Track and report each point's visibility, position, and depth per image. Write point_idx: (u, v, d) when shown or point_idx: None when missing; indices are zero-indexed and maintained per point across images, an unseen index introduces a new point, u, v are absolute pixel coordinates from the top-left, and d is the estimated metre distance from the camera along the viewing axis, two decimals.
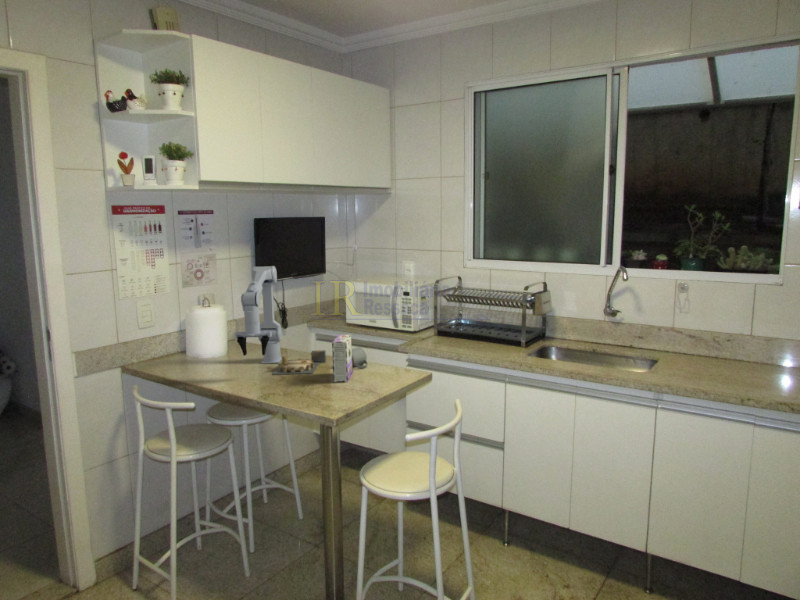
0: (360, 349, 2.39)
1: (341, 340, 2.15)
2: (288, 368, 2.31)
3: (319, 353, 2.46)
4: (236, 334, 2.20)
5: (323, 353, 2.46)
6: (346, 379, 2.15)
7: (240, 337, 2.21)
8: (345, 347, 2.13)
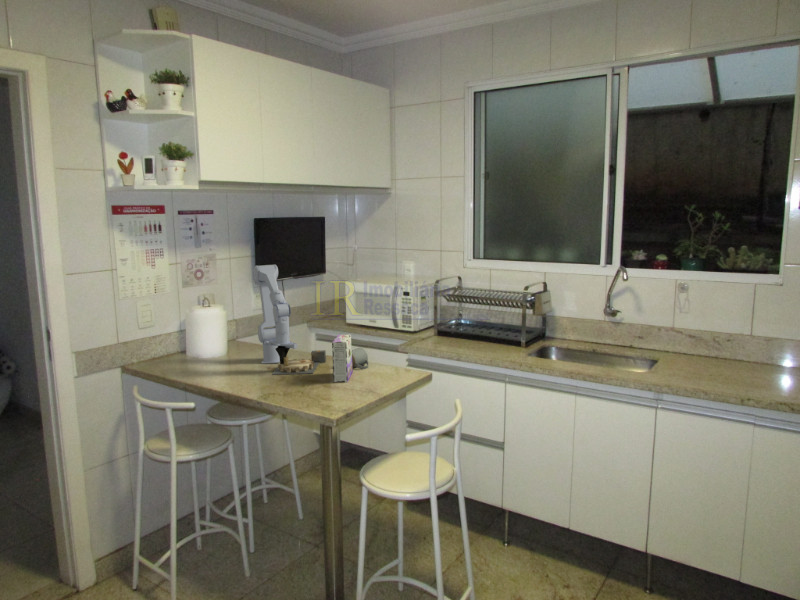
0: (361, 349, 2.38)
1: (341, 340, 2.15)
2: (292, 368, 2.30)
3: (319, 353, 2.46)
4: (270, 342, 2.35)
5: (323, 353, 2.46)
6: (346, 379, 2.15)
7: (280, 346, 2.32)
8: (345, 347, 2.13)
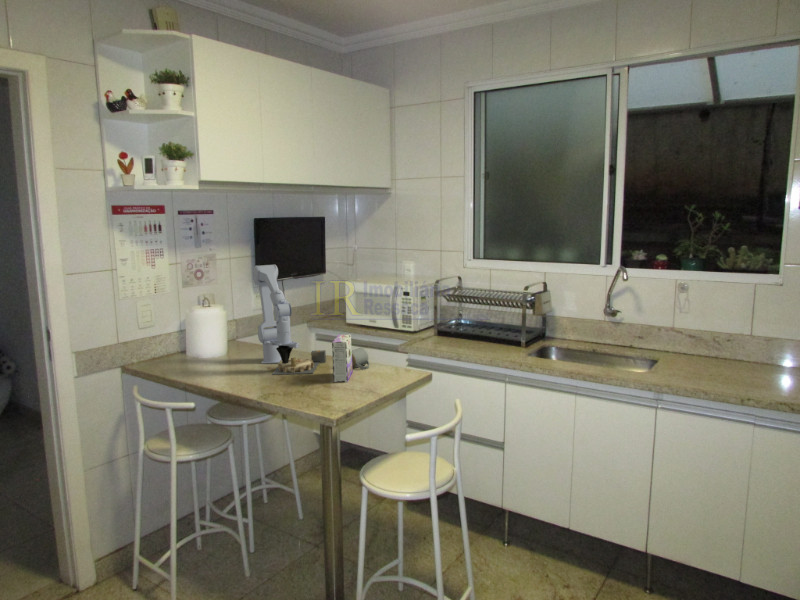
0: (362, 349, 2.38)
1: (341, 340, 2.15)
2: (304, 367, 2.32)
3: (319, 353, 2.46)
4: (271, 342, 2.35)
5: (323, 353, 2.46)
6: (346, 379, 2.15)
7: (280, 346, 2.33)
8: (345, 347, 2.13)
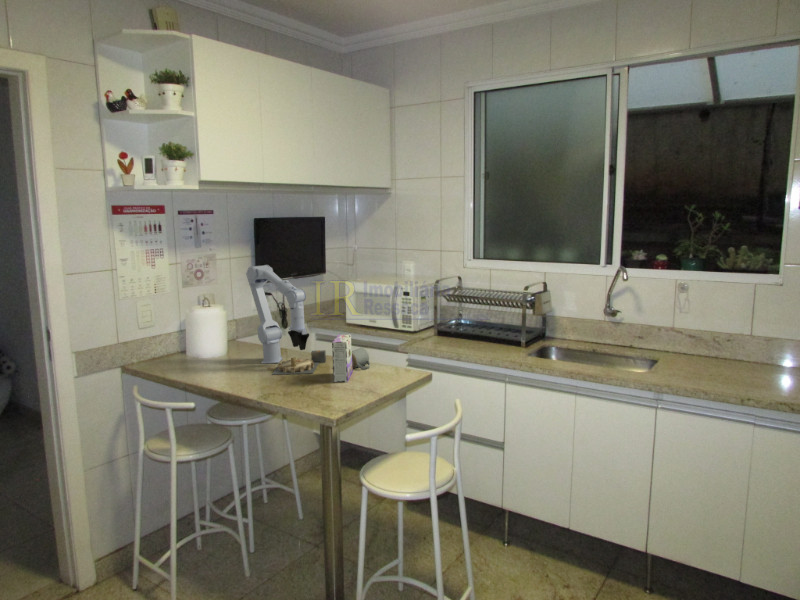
0: (362, 350, 2.37)
1: (341, 340, 2.15)
2: (304, 367, 2.32)
3: (319, 353, 2.46)
4: (290, 326, 2.42)
5: (323, 353, 2.46)
6: (346, 379, 2.15)
7: (292, 329, 2.41)
8: (345, 347, 2.13)
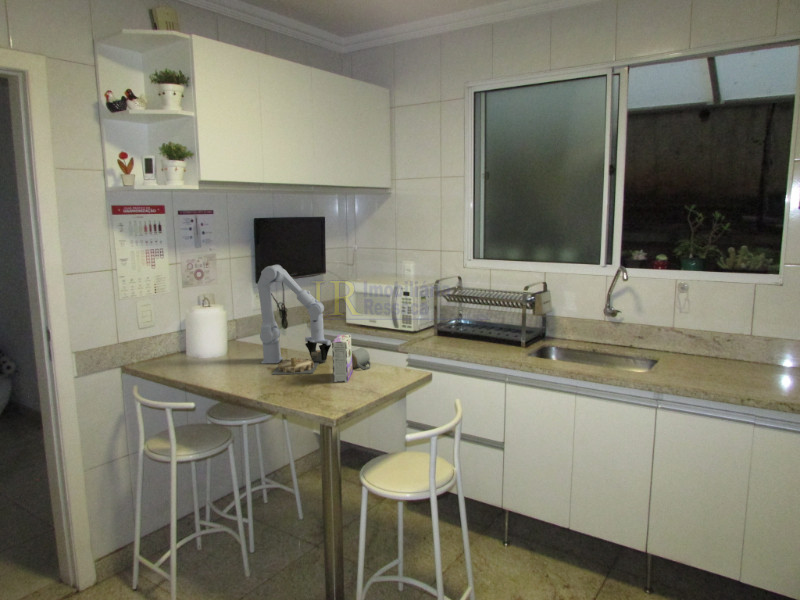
0: (363, 350, 2.37)
1: (341, 340, 2.15)
2: (304, 367, 2.32)
3: (319, 352, 2.46)
4: (306, 338, 2.49)
5: None
6: (346, 379, 2.15)
7: (309, 341, 2.49)
8: (345, 347, 2.13)
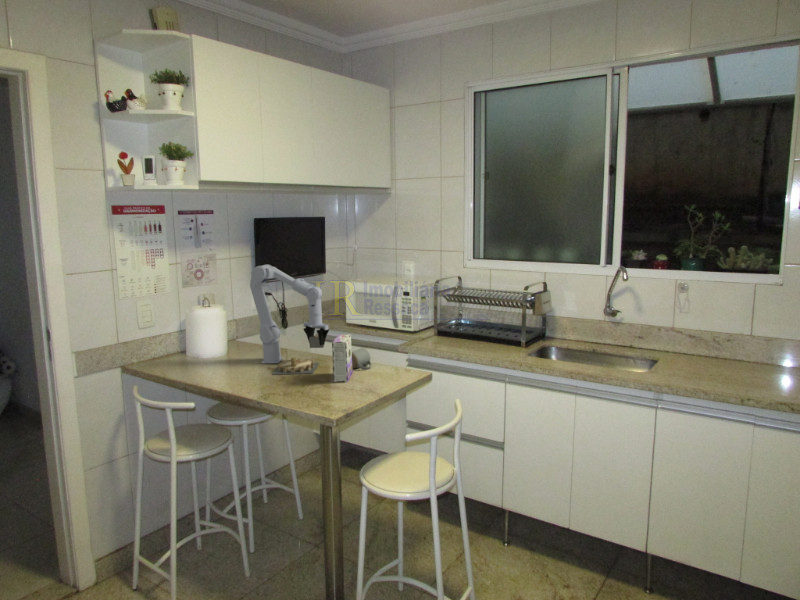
0: (364, 350, 2.37)
1: (341, 340, 2.15)
2: (304, 367, 2.32)
3: (317, 337, 2.44)
4: (304, 323, 2.48)
5: None
6: (346, 379, 2.15)
7: (307, 327, 2.47)
8: (345, 347, 2.13)
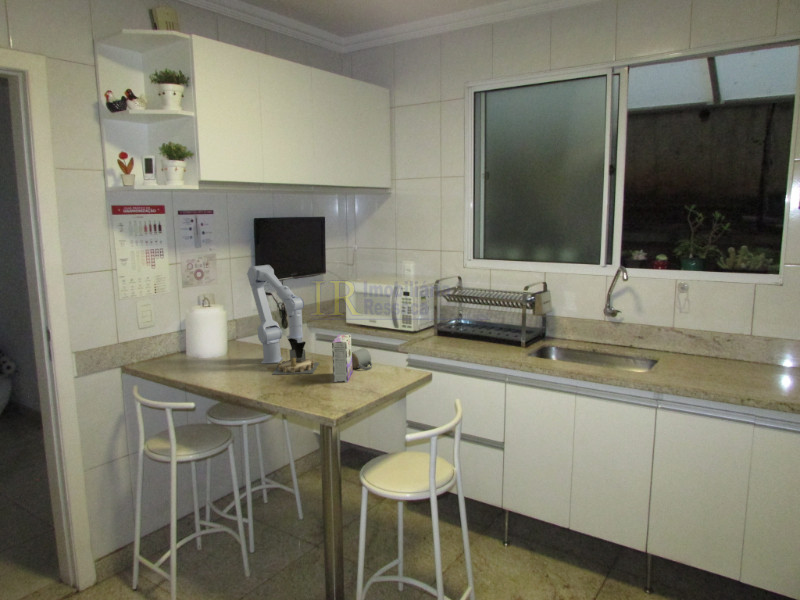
0: (364, 350, 2.36)
1: (341, 340, 2.15)
2: (304, 367, 2.32)
3: None
4: None
5: None
6: (346, 379, 2.15)
7: None
8: (345, 347, 2.13)
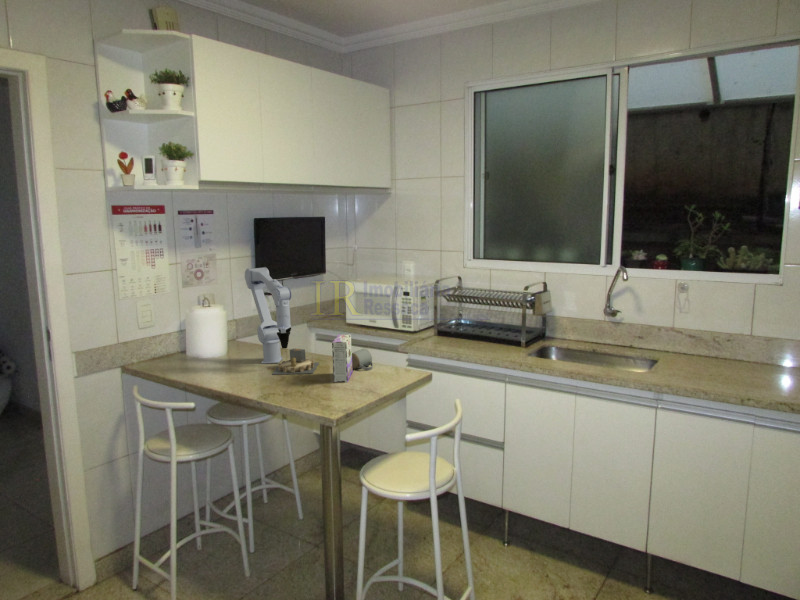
0: (365, 350, 2.36)
1: (341, 340, 2.15)
2: (304, 367, 2.32)
3: (296, 351, 2.38)
4: None
5: (300, 352, 2.37)
6: (346, 379, 2.15)
7: None
8: (345, 347, 2.13)
